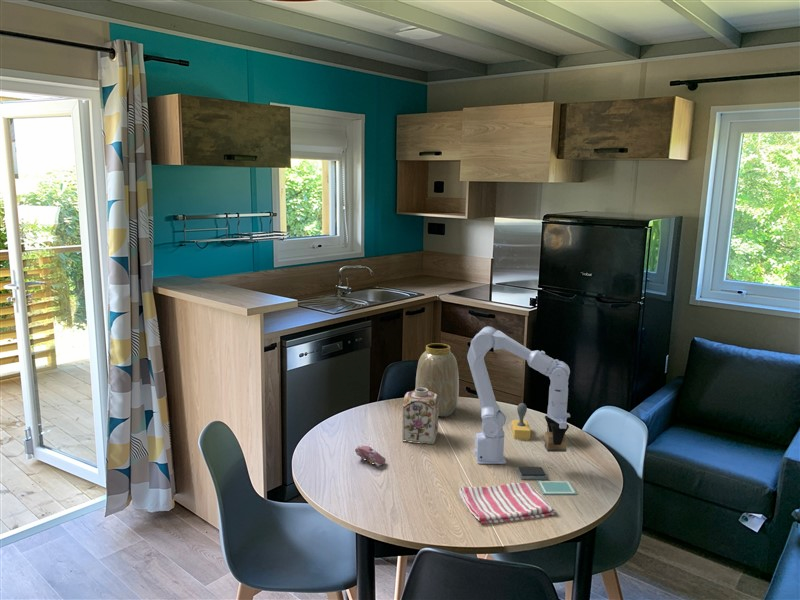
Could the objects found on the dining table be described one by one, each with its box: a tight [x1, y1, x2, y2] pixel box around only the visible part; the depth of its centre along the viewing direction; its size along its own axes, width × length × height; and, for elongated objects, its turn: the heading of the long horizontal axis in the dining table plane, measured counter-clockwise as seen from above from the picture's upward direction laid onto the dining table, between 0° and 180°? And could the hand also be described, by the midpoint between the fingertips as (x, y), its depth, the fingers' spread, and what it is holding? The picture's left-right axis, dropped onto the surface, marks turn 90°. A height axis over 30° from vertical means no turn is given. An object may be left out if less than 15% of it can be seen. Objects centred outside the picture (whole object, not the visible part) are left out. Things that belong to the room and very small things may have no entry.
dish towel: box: [458, 482, 557, 525], centre depth 174 cm, size 17×23×4 cm
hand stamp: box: [543, 431, 569, 453], centre depth 195 cm, size 6×4×7 cm, turn 92°
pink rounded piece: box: [354, 444, 387, 465], centre depth 200 cm, size 10×5×7 cm, turn 47°
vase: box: [415, 342, 460, 417], centre depth 244 cm, size 17×17×27 cm
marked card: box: [536, 480, 578, 496], centre depth 184 cm, size 10×8×1 cm
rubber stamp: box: [510, 402, 532, 441], centre depth 224 cm, size 10×6×12 cm, turn 176°
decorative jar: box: [401, 387, 439, 445], centre depth 219 cm, size 12×12×18 cm
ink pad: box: [516, 466, 548, 481], centre depth 192 cm, size 8×6×2 cm
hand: (555, 441), depth 195 cm, fingers closed on hand stamp, 4 cm apart
